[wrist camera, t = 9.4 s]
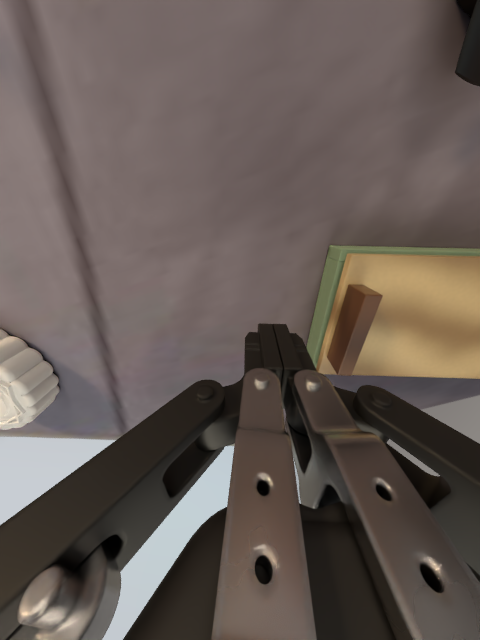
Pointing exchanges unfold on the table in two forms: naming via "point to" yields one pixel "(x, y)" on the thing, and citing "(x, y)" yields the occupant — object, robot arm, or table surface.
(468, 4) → the black wing nut
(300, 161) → the table surface
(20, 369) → the mooncake
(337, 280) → the sliding lid box
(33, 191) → the table surface
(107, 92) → the table surface
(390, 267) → the slide lid
